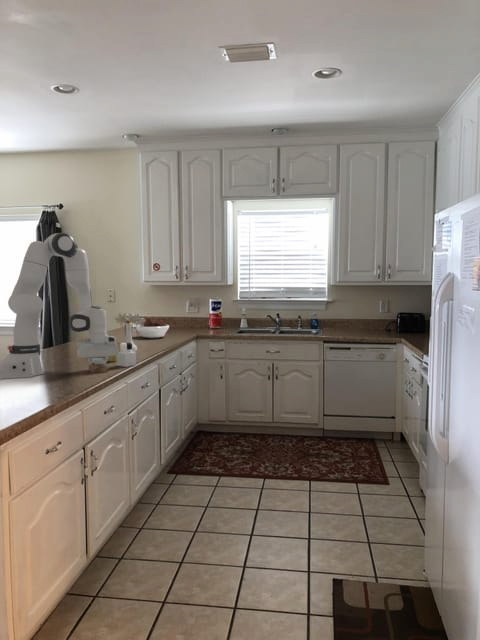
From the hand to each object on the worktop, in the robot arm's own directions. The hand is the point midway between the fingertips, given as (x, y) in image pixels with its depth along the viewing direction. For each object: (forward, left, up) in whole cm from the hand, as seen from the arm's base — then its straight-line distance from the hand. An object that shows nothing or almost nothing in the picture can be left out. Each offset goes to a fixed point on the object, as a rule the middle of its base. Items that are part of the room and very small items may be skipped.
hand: (98, 365), depth 257 cm
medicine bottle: (+16, +3, -2) cm, 16 cm away
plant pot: (+14, +22, -2) cm, 26 cm away
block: (-2, -7, -2) cm, 7 cm away
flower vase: (+30, +38, -2) cm, 49 cm away
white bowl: (+72, +110, -2) cm, 131 cm away
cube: (0, 0, -2) cm, 2 cm away
